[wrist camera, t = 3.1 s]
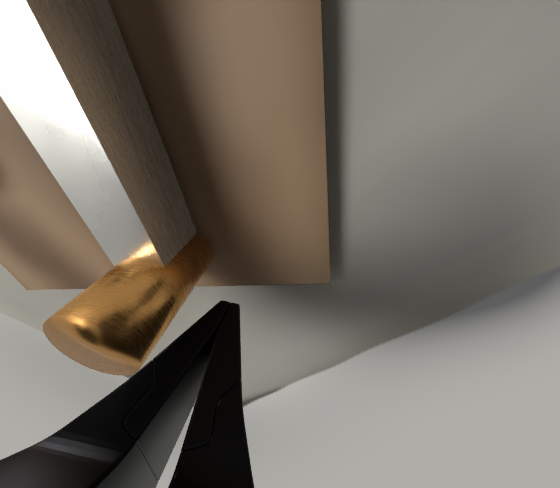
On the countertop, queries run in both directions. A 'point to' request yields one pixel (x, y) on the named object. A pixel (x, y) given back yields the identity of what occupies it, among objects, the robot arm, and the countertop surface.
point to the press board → (200, 146)
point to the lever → (102, 176)
